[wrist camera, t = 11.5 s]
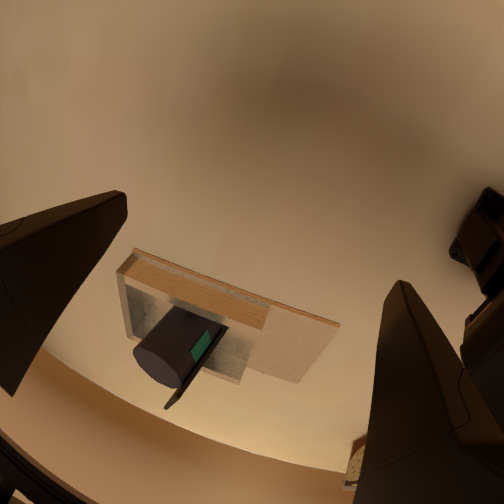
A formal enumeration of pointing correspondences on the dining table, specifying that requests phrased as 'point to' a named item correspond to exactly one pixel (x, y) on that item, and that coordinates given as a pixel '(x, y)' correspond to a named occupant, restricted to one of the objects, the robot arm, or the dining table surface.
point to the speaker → (178, 349)
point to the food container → (354, 463)
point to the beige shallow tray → (223, 319)
